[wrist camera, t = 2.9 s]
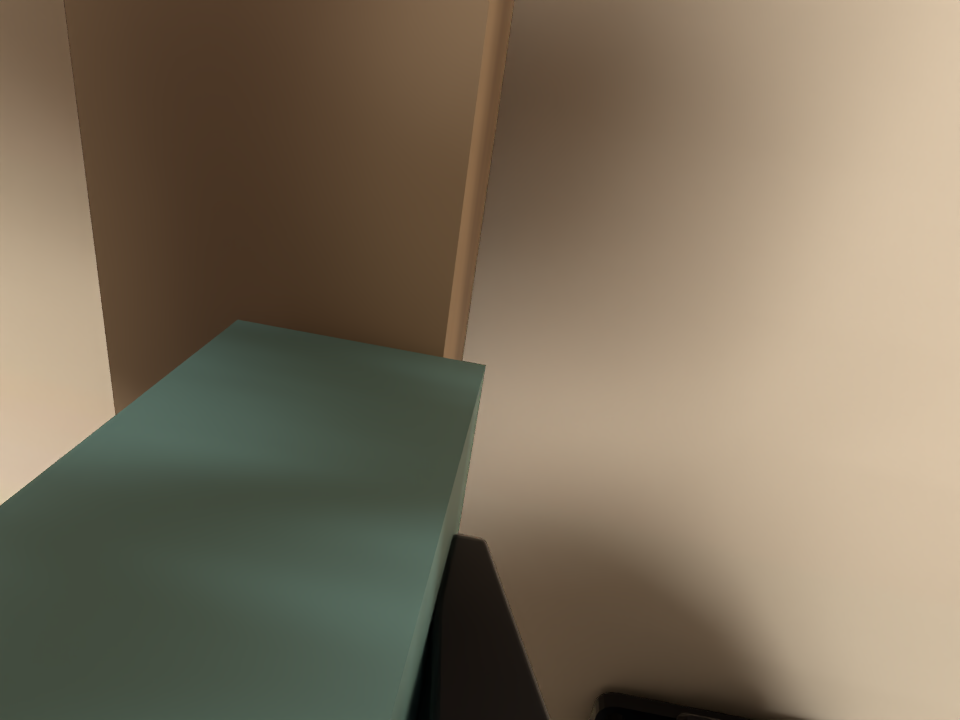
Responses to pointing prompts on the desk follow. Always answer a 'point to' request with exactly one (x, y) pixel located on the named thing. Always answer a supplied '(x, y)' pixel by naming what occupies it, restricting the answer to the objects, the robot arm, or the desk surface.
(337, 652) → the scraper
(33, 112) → the desk surface
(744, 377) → the desk surface
